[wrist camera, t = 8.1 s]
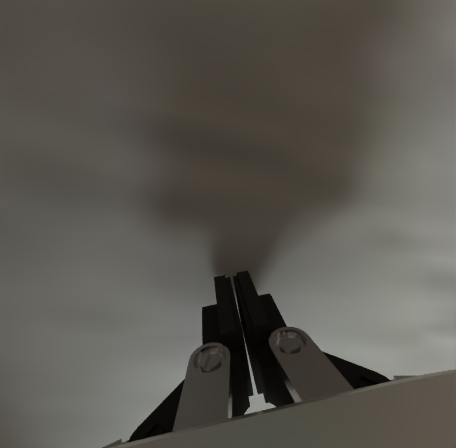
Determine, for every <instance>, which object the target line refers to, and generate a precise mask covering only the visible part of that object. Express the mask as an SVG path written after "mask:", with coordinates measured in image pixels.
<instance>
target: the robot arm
mask: <svg viewBox="0 0 456 448" xmlns="http://www.w3.org/2000/svg"><path fill="white" fill-rule="evenodd" d="M233 279H234V285H235V291H236V297H237V302H238V308H239V313H238V309H237V305H236V301H235V297H234V293H233V288H232V284H231V280H230V277H228V278H225V275H222V276H217V277H214V281H215V290H216V299H217V304H215V305H210V306H206V307H202V342H203V345H202V346H200V347H199V348H197V349H196V350H195V351H194V352H193V354H192V355H191V357H190V359H189V363H188V367H187V372H186V376H185V379H184V380H183V381H182V382H181V383H180V384H179V385H178V386H177V387H176V388H175V390H174V391H173V392H172V393H171V394H170V395H169V396H168V397H167V398H166V399H165V400H164V401H163V402H162V403H161V404H160V405H159V406H158V407H157V408H156V409H155V410H154V411H153V412H152V413H151V414H150V415H149V416H148V417H147V418H146V419H145V420H144V422H143V423H142V424H141V425H140V426H139V427H138V428H137V429H136V430H135V432H134V433H133V434H132V435H131V437H130V439H129V440H128V441H126V442H123V441H122V439H120V440H118V441H116V442H113V443H111V444H109V445H107V446H105V447H103V448H456V370H448V371H442V372H436V373H430V374H424V375H419V376H394V378H393V380H389V379H388V378H386V377H385V376H383V375H381V374H379V373H377V372H375V371H372V370H369V369H367V368H364V367H362V366H359V365H356V364H354V363H351V362H348V361H346V360H343V359H341V358H338V357H335V356H333V355H330V354H328V353H325V352H322V351H321V350H320V348H319V347H318V346H317V345H316V344H315V343H314V341H313V340H312V339H311V338H310V337H309V336H308V334H306V333H305V332H304V331H303V330H301V329H299V328H295V327H287V326H286V324H285V322H284V320H283V318H282V316H281V314H280V312H279V310H278V308H277V306H276V304H275V302H274V300H273V298H272V296H271V295H270V294H265V295H260V296H258V294H257V292H256V289H255V287H254V284H253V282H252V279H251V277H250V275H249V272H248V271H243V272H238V273H237V276H233ZM239 314H240V317H239ZM240 320H241V322H240ZM241 325H242V326H241ZM242 330H243V331H242ZM243 334H244V336H243ZM244 339H245V342H244ZM245 343H246V347H247V351H248V355H249V359H250V363H251V368H252V372H253V376H254V380H255V384H256V388H257V392H258V394H261V393H263V394H264V398H265V402H266V403H269V402H270V403H271V404H273V405H275V406H276V407H275V408H271V409H267V410H262V411H258V412H254V413H250V414H245V415H244V413H245V412H246V410H247V409H248V407H250V403H249V397H248V396H252V395H253V389H252V383H251V377H250V371H249V365H248V359H247V353H246V348H245Z"/></svg>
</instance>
